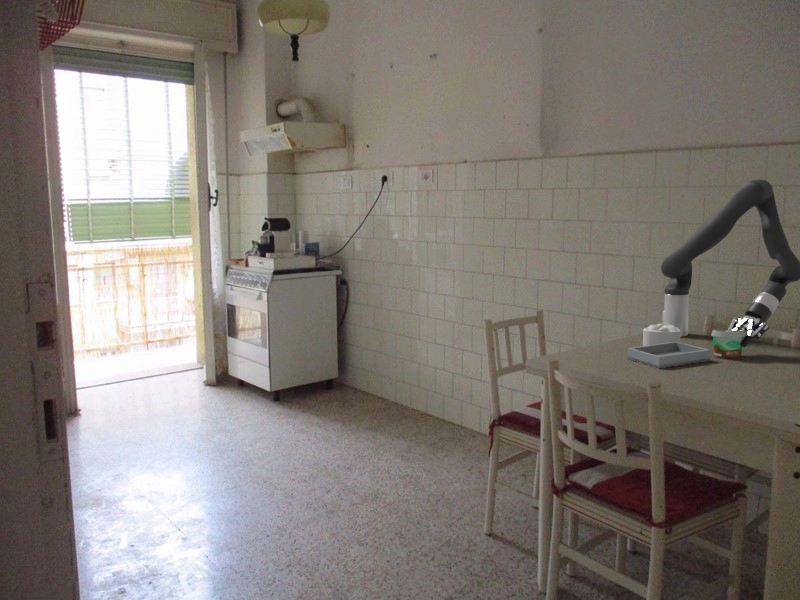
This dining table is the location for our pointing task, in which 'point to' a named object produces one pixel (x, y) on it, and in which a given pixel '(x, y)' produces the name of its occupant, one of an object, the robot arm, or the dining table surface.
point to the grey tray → (668, 354)
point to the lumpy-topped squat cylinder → (660, 334)
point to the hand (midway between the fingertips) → (735, 344)
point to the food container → (728, 343)
